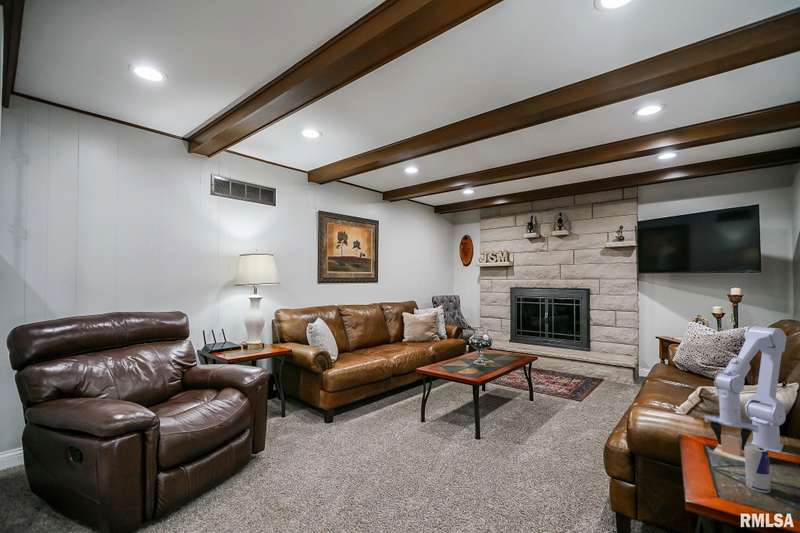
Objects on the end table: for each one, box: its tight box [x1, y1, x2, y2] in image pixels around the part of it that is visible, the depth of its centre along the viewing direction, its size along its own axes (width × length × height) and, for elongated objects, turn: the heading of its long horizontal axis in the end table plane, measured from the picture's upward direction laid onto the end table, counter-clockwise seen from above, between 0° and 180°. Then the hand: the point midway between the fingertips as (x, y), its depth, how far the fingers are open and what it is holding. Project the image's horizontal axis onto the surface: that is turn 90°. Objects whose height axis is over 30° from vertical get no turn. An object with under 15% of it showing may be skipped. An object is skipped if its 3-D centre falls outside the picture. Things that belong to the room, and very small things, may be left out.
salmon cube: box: [721, 430, 743, 456], centre depth 136 cm, size 5×5×6 cm
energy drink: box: [744, 443, 772, 494], centre depth 113 cm, size 5×5×12 cm
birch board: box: [711, 443, 745, 463], centre depth 136 cm, size 13×9×1 cm
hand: (731, 446), depth 136 cm, fingers open, 6 cm apart
